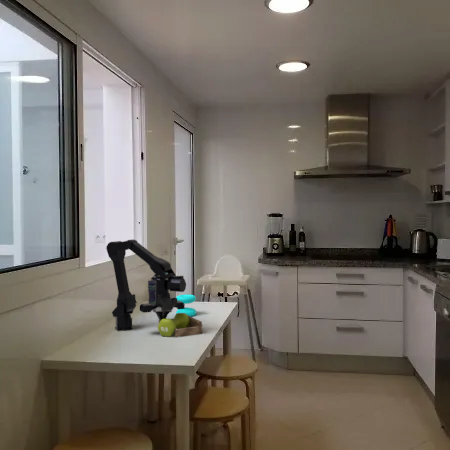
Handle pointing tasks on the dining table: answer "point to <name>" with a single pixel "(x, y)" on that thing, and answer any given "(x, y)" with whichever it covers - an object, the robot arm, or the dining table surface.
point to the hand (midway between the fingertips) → (162, 326)
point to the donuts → (186, 300)
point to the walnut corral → (189, 328)
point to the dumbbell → (173, 324)
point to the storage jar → (152, 292)
